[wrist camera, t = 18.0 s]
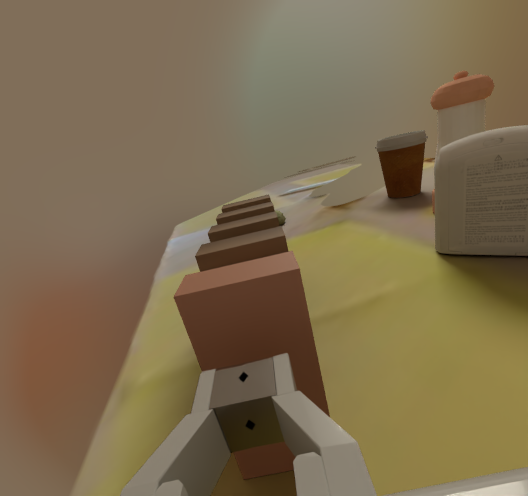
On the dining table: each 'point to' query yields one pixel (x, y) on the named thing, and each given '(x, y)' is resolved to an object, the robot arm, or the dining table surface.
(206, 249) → the walnut domino
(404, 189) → the disposable coffee cup
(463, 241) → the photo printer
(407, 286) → the dining table surface
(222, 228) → the walnut domino
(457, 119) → the pepper shaker
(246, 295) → the terracotta domino
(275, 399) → the robot arm
